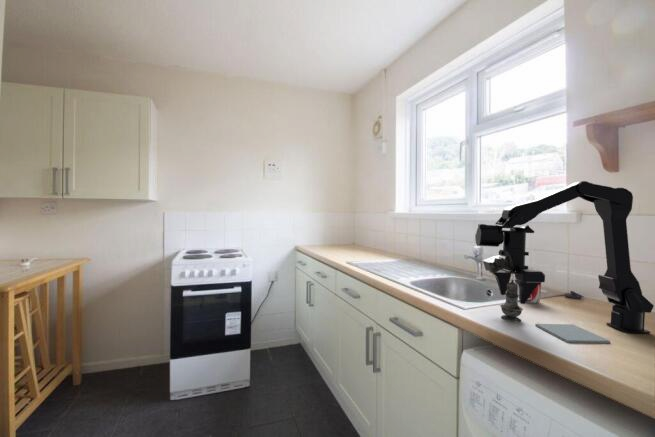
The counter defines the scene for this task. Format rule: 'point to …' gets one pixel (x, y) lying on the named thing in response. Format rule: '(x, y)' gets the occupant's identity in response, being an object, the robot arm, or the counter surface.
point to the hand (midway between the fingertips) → (512, 299)
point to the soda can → (534, 293)
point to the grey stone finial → (511, 304)
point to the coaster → (572, 333)
